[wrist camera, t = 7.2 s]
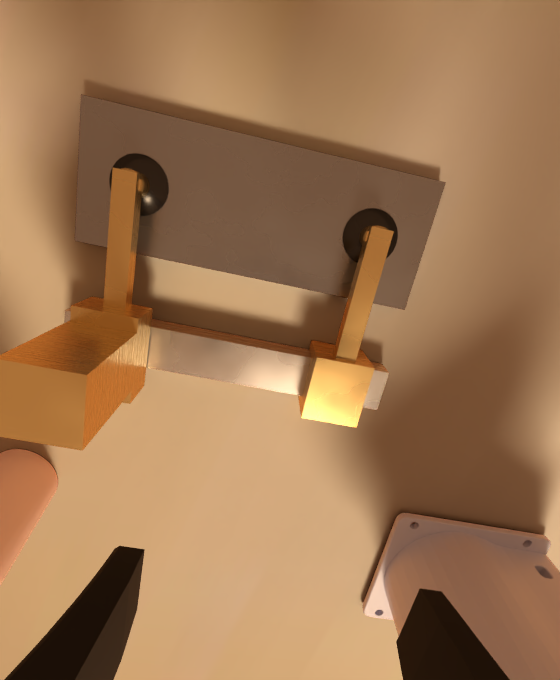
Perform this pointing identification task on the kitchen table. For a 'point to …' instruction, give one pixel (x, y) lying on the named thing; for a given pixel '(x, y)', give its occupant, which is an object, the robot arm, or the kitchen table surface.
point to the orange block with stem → (84, 346)
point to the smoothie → (22, 500)
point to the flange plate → (251, 202)
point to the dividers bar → (291, 352)
